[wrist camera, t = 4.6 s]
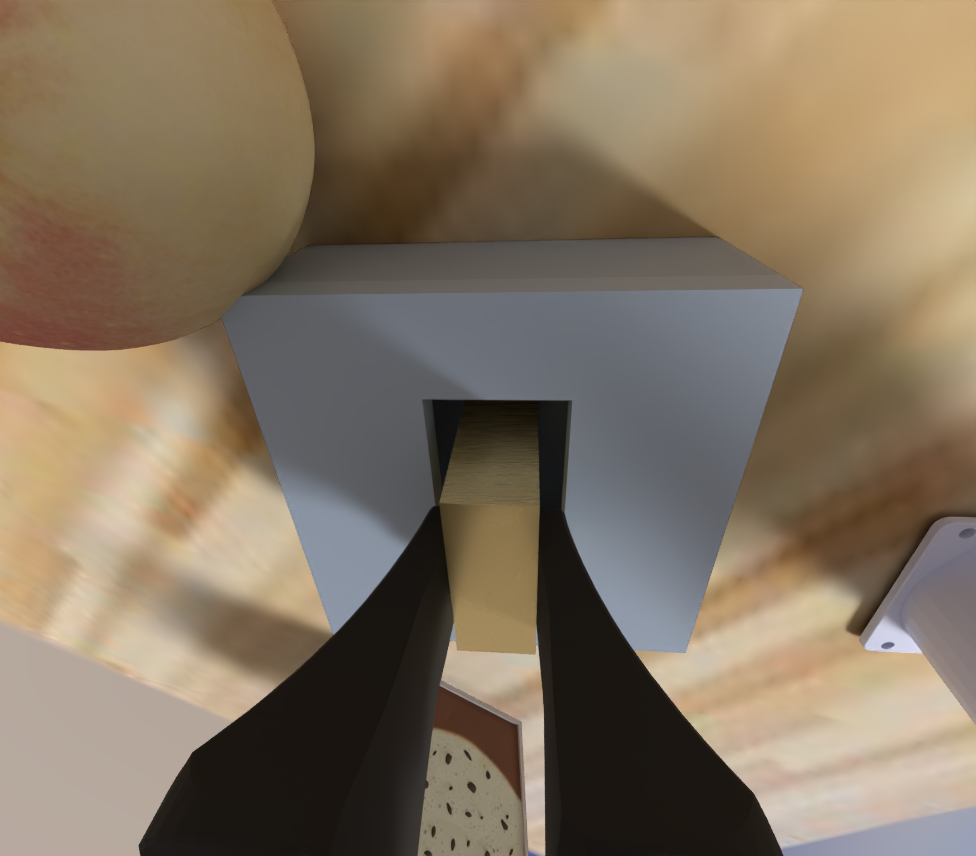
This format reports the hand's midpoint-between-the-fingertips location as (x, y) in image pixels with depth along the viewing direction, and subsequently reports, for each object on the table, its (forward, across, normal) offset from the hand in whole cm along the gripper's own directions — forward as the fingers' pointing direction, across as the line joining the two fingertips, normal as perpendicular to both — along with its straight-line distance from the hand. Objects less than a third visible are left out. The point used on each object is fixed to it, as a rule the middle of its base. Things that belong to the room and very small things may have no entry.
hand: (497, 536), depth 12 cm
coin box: (+6, 0, 0) cm, 6 cm away
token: (+3, 0, 0) cm, 3 cm away
